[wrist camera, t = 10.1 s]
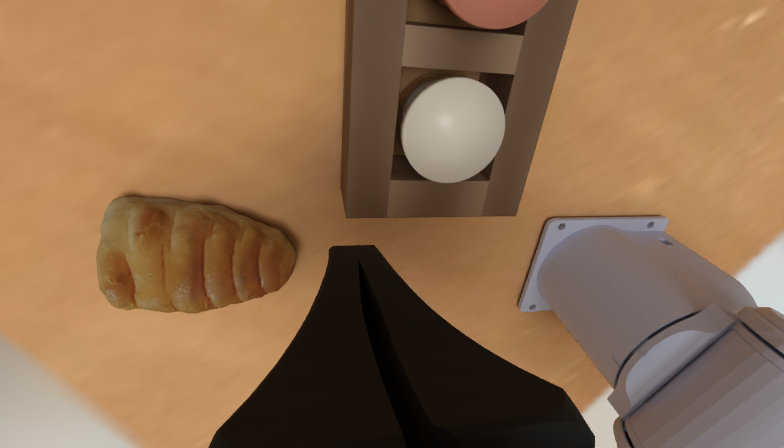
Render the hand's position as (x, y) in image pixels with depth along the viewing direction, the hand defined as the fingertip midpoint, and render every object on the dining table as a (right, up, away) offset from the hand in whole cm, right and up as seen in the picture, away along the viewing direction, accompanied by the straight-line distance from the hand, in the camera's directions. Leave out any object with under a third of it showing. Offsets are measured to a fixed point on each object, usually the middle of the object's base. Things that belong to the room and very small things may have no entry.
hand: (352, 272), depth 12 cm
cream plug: (+3, +7, +8) cm, 12 cm away
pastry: (-10, +1, +10) cm, 14 cm away
